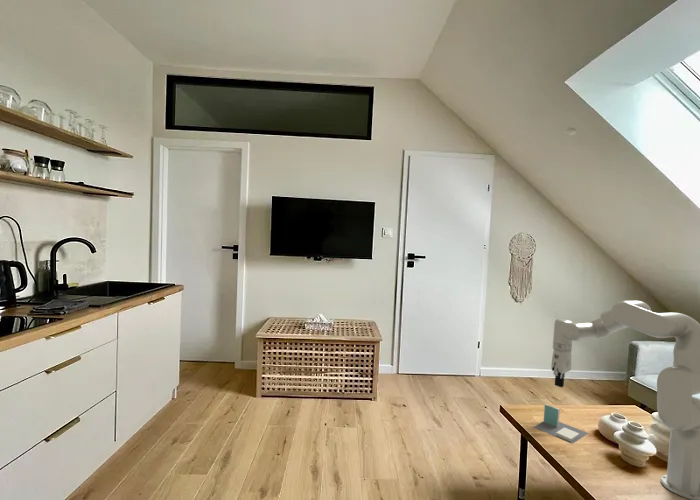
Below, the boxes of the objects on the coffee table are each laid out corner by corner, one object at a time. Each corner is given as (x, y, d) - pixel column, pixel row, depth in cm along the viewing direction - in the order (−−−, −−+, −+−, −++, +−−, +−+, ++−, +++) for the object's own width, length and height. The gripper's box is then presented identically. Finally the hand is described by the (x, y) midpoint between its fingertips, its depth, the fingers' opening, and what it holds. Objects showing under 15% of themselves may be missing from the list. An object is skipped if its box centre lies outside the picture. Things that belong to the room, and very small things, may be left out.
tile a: (579, 433, 159) (571, 438, 154) (579, 436, 159) (570, 441, 154) (564, 427, 163) (556, 432, 159) (564, 430, 163) (555, 435, 159)
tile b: (558, 426, 167) (559, 408, 166) (557, 427, 166) (558, 409, 166) (544, 420, 171) (545, 403, 171) (543, 421, 171) (544, 404, 170)
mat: (588, 434, 162) (588, 433, 162) (572, 445, 152) (572, 443, 152) (550, 419, 175) (550, 418, 175) (533, 428, 165) (533, 427, 165)
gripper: (563, 351, 164) (560, 392, 164) (578, 346, 173) (574, 385, 173) (546, 346, 170) (542, 386, 170) (560, 342, 179) (557, 380, 179)
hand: (559, 385), depth 172 cm, fingers closed
